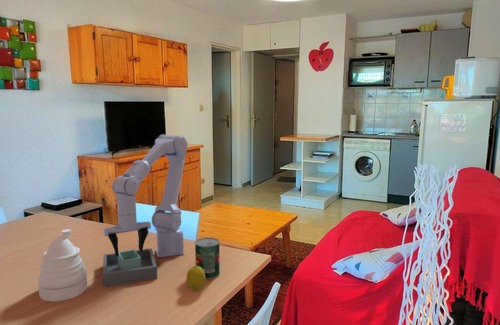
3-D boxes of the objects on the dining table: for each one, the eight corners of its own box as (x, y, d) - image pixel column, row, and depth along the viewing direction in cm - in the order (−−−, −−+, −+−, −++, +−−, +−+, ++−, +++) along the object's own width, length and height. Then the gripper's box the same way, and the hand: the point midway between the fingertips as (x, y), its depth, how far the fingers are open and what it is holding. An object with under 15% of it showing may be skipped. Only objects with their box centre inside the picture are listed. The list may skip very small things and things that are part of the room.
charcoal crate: (152, 259, 132) (151, 248, 132) (157, 278, 118) (156, 266, 117) (104, 265, 127) (103, 254, 126) (103, 286, 112) (102, 274, 112)
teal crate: (135, 262, 127) (134, 249, 127) (141, 271, 121) (140, 257, 120) (118, 266, 124) (117, 252, 124) (123, 275, 118) (122, 260, 117)
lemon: (202, 296, 107) (201, 270, 106) (184, 294, 108) (183, 268, 107) (208, 287, 112) (207, 262, 111) (190, 285, 113) (190, 260, 112)
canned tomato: (191, 272, 122) (190, 241, 120) (210, 266, 127) (210, 235, 125) (204, 281, 116) (203, 248, 114) (224, 274, 121) (224, 242, 119)
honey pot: (75, 276, 119) (71, 222, 116) (95, 288, 111) (91, 231, 108) (31, 291, 109) (26, 233, 107) (50, 306, 101) (45, 243, 98)
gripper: (145, 206, 126) (147, 244, 128) (100, 213, 119) (103, 252, 121) (151, 211, 120) (153, 251, 122) (104, 218, 113) (107, 260, 115)
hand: (129, 252), depth 121 cm, fingers open, 7 cm apart
